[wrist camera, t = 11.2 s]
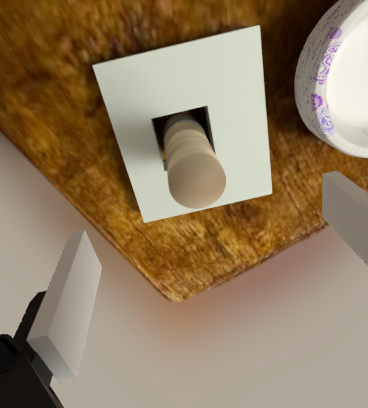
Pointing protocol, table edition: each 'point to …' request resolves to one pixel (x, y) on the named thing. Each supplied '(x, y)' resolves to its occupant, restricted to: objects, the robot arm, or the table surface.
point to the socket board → (185, 100)
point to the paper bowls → (336, 78)
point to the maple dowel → (191, 163)
